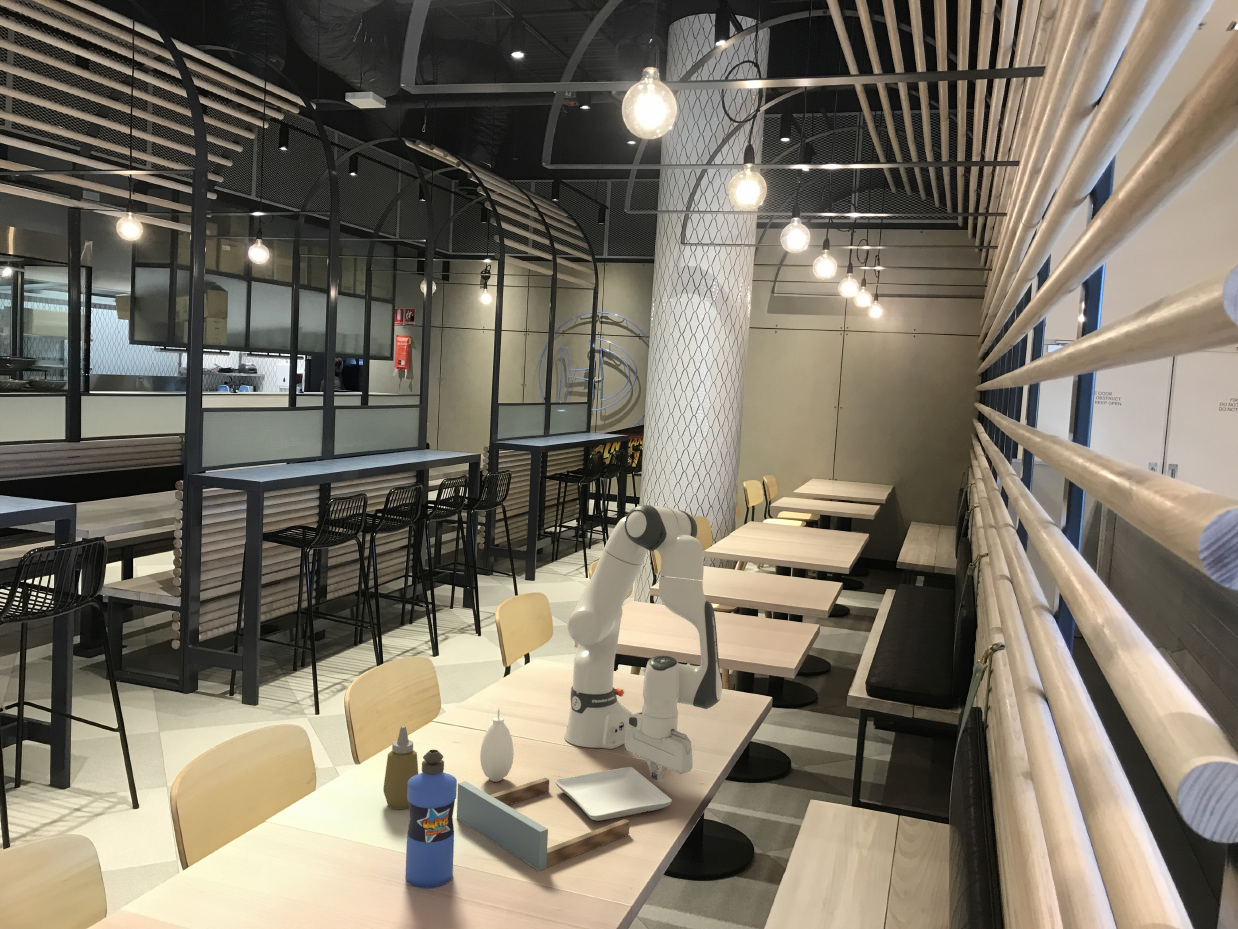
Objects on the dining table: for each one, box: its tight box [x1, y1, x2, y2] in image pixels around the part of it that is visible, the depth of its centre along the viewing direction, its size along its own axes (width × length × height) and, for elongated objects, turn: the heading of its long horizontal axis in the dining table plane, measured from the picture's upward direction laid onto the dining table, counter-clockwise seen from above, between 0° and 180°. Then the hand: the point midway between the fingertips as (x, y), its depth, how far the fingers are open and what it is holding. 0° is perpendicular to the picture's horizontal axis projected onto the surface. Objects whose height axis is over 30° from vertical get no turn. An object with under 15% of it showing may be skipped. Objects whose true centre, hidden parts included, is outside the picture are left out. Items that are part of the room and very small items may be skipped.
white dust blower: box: [479, 707, 515, 783], centre depth 231 cm, size 8×8×18 cm
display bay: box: [456, 777, 630, 872], centre depth 208 cm, size 25×29×8 cm
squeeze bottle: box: [383, 725, 419, 810], centre depth 215 cm, size 8×8×18 cm
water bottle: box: [405, 749, 458, 889], centre depth 184 cm, size 9×9×25 cm
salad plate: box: [554, 766, 673, 822], centre depth 223 cm, size 21×21×3 cm
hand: (656, 779), depth 233 cm, fingers closed
